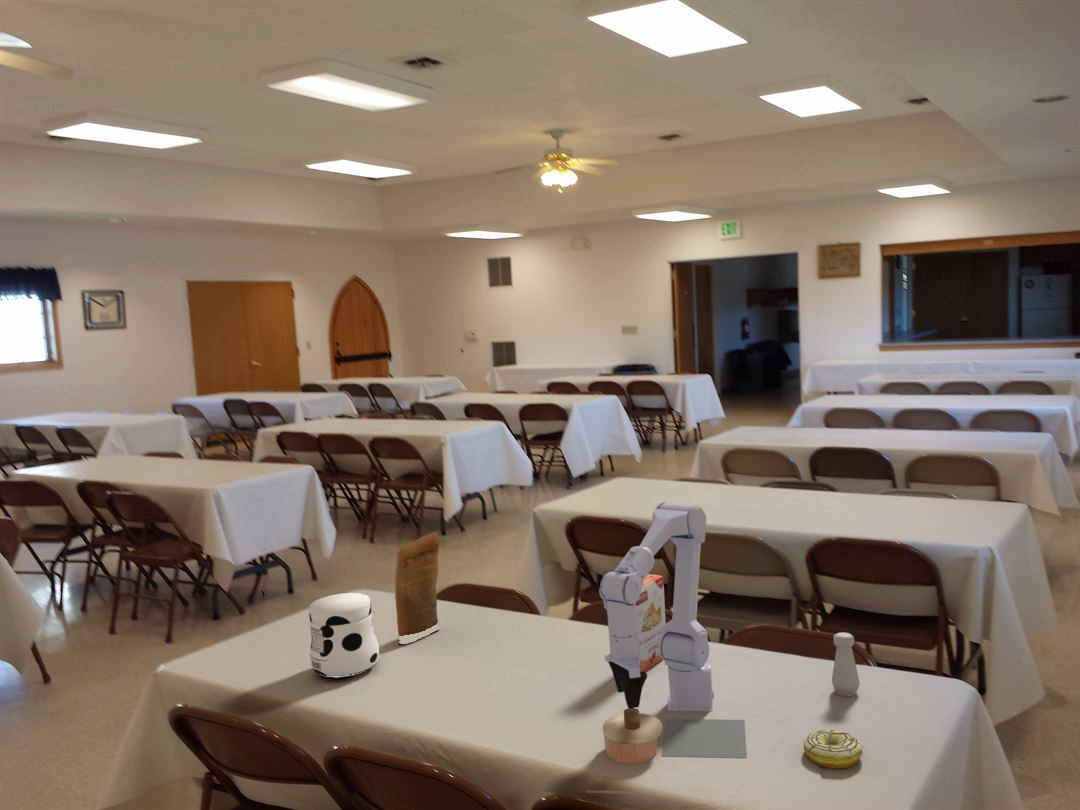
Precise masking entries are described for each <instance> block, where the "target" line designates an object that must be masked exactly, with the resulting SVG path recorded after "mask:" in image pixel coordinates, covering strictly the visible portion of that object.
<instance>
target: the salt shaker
mask: <svg viewBox="0 0 1080 810" xmlns="http://www.w3.org/2000/svg"><path fill="white" fill-rule="evenodd" d="M833 645H834V646H835V647H836V650H835V657H834V663H833V670H832V676H831V683H832V686H833V688H834V691H835V693H836V692H837V694H838V693H839V694H838V695H840V694H841V695H840V696H842V695H852V696H854V695H856V694H857V693H858V690H859V687H860V683H861V682H860V678H859V673H858V669H857V664H856V660H855V655H854V652H853V646H854V645H855V637H854V636H853V635H852V634H851V633H849V632H837V633H835V634H834V635H833ZM855 693H856V694H855ZM853 694H854V695H853Z"/></svg>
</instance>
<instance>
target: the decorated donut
mask: <svg viewBox="0 0 1080 810" xmlns="http://www.w3.org/2000/svg"><path fill="white" fill-rule="evenodd" d="M863 748H864V745H863V744H862V743H861V742H860V741H859V740H858V738H856V737H855V736H854V735H852V734H850V733H849V732H844V731H841V730H837V729H827V728H826V729H825V728H823V729H821V730H817V731H815V732H811V733H809V734H808V735H807V736H806V737H804V741H803V749H804V752H805V755H806V757H808V759H809V760H810V761H812V762H813V763H815V764H817V765H818V766H820V767H823V768H828V769H835V770H837V769H846V768H851V767H852V766H854V765H855V764H857V763H858V762H859V760H860V758H861V756H862V755H863Z"/></svg>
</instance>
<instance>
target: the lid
mask: <svg viewBox="0 0 1080 810" xmlns="http://www.w3.org/2000/svg"><path fill="white" fill-rule="evenodd" d="M602 732H603V733H602V734H603V736H605V737H606V738H608V739H609V740H611V741H614V742H617V743H622V744H640V743H646V742H649V741H652V740H654V739H656V738H657V739H658V738H659V736H661V735H662V733H663V724H662V722H661V720H660V719H659V718H657V717H656V716H654V715H651V714H647V713H641V712H640V711H639V709H638V708H637V707H636V708H630V709H629V708H628V707H627V708H626V709H624V710H623V713H621V714H617V715H614V716H612V717H610V718H608V719H606V721H604V723H603V725H602Z"/></svg>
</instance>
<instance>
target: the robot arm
mask: <svg viewBox="0 0 1080 810" xmlns="http://www.w3.org/2000/svg"><path fill="white" fill-rule="evenodd" d="M706 529H707V515H706V513H705V511H704V509H703V508H702V506H701V505H699V504H694V505H691V504H682V503H681V504H679V503H672V502H671V503H669V502H664V501H661V502H659V503H658V504H657V505H656V507H655V508H654V510H653V512H652V524H651V526H649V529H648V531H647V532H646V534H645V536H644V538H643V539H642V541H641V543H640V545H636V546H632V547H631V548H630V549H629V550H628V552H627V553H626V554H625V556H624V557H623V558H622V560H620V562H619V563H618V565H617V566H616V567H615V569H614V570H613V571H609V572H607V573H606V574H604V575H603V576H602V579H601V581H600V586H599V589H598V593H599V596H600V598H601V599H602V601H603V607H604V609H605V610H606V613H607V626H608V639H609V652H610V653H609V654H605V655H604V660H605V662H607V663H608V664H609V667H610V670H611V672H612V675H613V677H614V682H615V687H616V689H617V692H618V693H619V694H620V693H623V694H624V698H625V703H626V706H627V709H628V708H629V709H630V708H636V709H637V708H639V707H640V704H641V697H642V691H643V687H644V685H645V683H646V680H647V679H648V673H647V671H644V672H640V667H639V664H640V659H641V653H640V652H639V639H638V625H637V611H636V602H637V600H639V597H640V594H641V589H642V587H643V584H644V583H643V580H644V579H645V578H646V576H647V575H648V574H649V573H650V572H651V571H652V569H654V565H655V563H656V562H655V558H654V557H655V555H657V553H658V552H659V551H660V549H661V548H662V547H663V546H664V545H665V544H666V543H667V541H668V540H671V541H672V542H673V544H674V545H675V548H676V552H675V556H676V557H675V568H674V570H675V571H674V584H673V586H674V587H673V602H672V619H671V620H669V621H668V622H666V624H665V625H664V626H663V627H662V633H661V637H660V640H659V643H658V651H659V655H660V657H661V658H662V659H663V660H662V661H664V666H667V672H668V687H669V695H668V703H667V711H671V712H675V711H676V712H713V710H714V708H713V705H714V702H713V701H714V699H715V693H714V692H715V691H714V689H713V679H712V678H713V677H712V666H711V665H712V664H707V662H708V659H709V656H710V644H709V641H708V639H709V638H708V635H709V634H708V631H707V629H706V628H705V627H704V626H703V625H701V624H700V623H699V622H698V620H697V615H698V613H697V612H698V595H699V579H700V578H699V577H700V562H701V561H700V559H701V546H702V544H703V543H705V541H706Z"/></svg>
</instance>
